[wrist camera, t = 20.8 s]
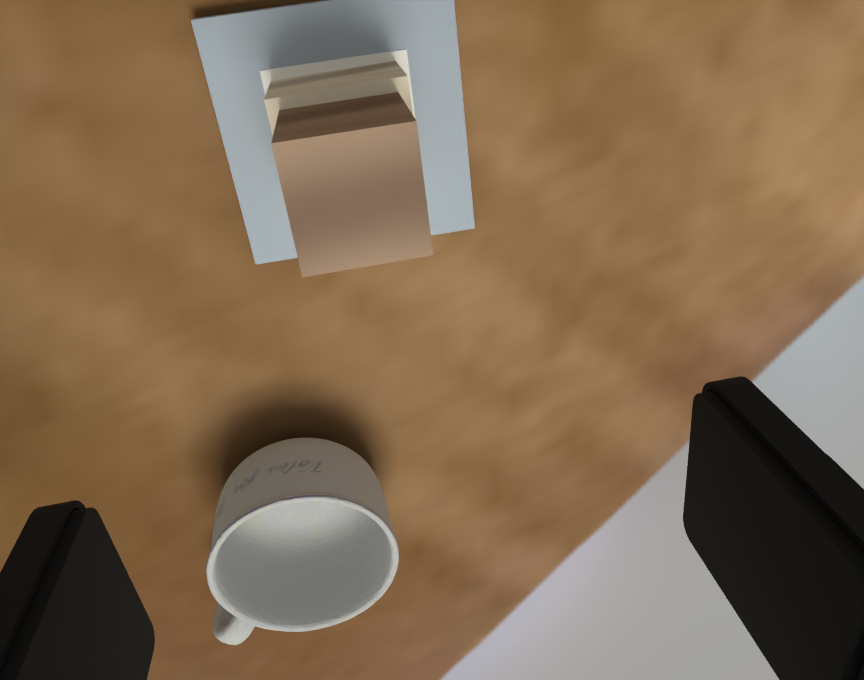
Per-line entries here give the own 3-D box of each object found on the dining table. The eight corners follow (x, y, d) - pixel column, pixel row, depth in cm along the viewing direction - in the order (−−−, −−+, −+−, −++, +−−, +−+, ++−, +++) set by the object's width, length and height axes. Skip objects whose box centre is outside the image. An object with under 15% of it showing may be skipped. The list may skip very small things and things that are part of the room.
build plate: (194, 18, 32) (190, 20, 31) (448, -18, 33) (452, -17, 32) (257, 256, 38) (255, 265, 37) (470, 221, 39) (475, 228, 38)
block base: (270, 81, 33) (263, 99, 28) (395, 60, 33) (407, 75, 29) (299, 202, 36) (297, 236, 31) (413, 182, 36) (427, 213, 32)
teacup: (311, 384, 42) (310, 466, 35) (419, 481, 47) (437, 571, 40) (151, 506, 45) (122, 606, 38) (269, 587, 50) (262, 688, 43)
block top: (279, 110, 28) (270, 143, 23) (398, 92, 29) (416, 121, 24) (304, 224, 31) (302, 277, 26) (413, 206, 31) (433, 255, 26)
